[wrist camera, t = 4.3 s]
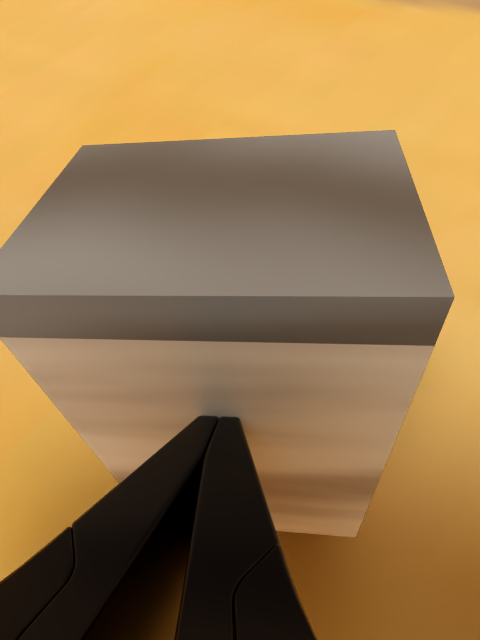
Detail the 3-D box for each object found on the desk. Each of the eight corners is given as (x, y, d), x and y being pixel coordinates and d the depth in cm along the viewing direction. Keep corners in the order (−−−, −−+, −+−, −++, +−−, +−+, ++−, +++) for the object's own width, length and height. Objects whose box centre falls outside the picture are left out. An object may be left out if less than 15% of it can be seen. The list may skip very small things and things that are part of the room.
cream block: (355, 537, 13) (454, 296, 5) (149, 520, 14) (-36, 294, 6) (344, 403, 17) (394, 129, 9) (178, 397, 18) (82, 145, 9)
